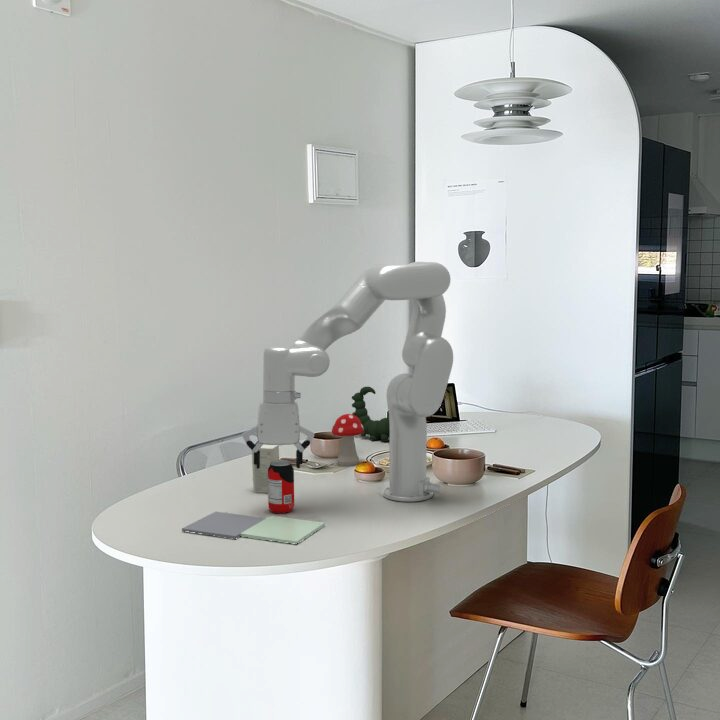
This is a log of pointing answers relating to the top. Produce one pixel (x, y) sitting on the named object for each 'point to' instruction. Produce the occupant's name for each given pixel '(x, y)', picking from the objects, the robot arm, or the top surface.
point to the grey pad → (223, 524)
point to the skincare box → (264, 467)
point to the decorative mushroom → (347, 438)
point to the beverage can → (280, 486)
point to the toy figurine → (370, 427)
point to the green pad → (282, 529)
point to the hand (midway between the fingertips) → (278, 467)
